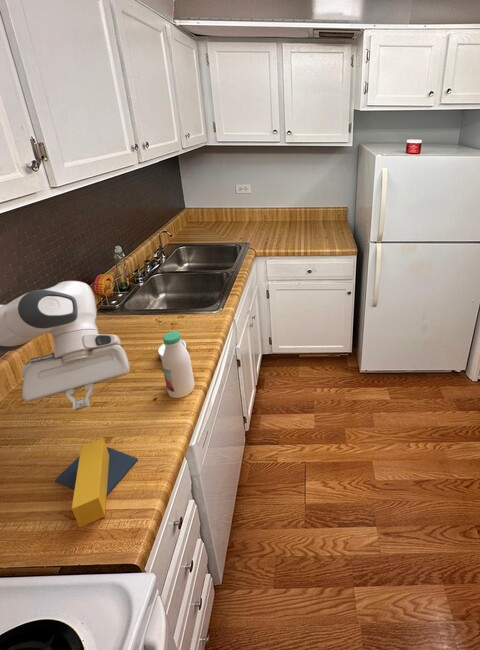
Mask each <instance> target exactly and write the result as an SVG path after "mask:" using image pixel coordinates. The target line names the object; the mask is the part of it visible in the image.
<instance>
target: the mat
mask: <svg viewBox="0 0 480 650" xmlns="http://www.w3.org/2000/svg"><path fill="white" fill-rule="evenodd" d="M107 450H108V453H109V467H108V482H107V496H106V498H107V497H108V496H109V495H110V493H111V492H112V491H113V490H114V489H115V488H116V487H117V486H118V484H119V483H120V482H121V481H122V479H123V478H124V477H125V476H126V475H127V474H128V473H129V472H130V470H131V469H132V468H133V467H134V466H135V464H136V463H137V462H139V459H138V458H137V457H135V456H133V455H130V454H127V453H125V452H122V451H119V450H116V449H114V448H111V447H109V446H107ZM79 458H80V455H79V456H78V457H77V458H76V459H74V461H73V462H71V464H69V465H68V466H67V467H66V469H64V470H63V471H62V472H61V473H60V474H59V475H58V476H57V477H56V478H55V479H54V481H55V483H58V484H60V485H62V486H65V487H67V488H69V489H72V490H73V491H74V490H75V484H76V477H77V471H78V464H79Z"/></svg>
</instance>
